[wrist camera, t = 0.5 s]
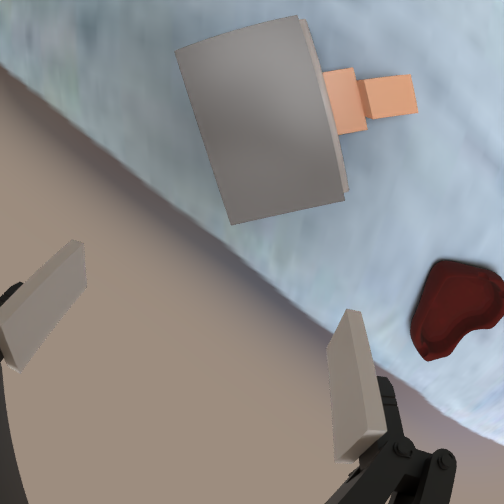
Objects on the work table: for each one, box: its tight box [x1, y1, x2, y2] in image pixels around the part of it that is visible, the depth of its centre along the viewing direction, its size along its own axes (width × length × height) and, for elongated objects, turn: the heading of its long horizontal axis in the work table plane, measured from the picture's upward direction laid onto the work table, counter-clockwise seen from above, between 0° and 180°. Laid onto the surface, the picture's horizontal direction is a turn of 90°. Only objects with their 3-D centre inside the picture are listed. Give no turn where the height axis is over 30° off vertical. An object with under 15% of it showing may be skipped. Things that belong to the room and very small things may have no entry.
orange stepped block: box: [323, 68, 418, 135], centre depth 29 cm, size 18×7×4 cm, turn 106°
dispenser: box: [174, 15, 349, 225], centre depth 31 cm, size 13×19×7 cm
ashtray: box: [410, 261, 504, 361], centre depth 41 cm, size 18×16×5 cm
